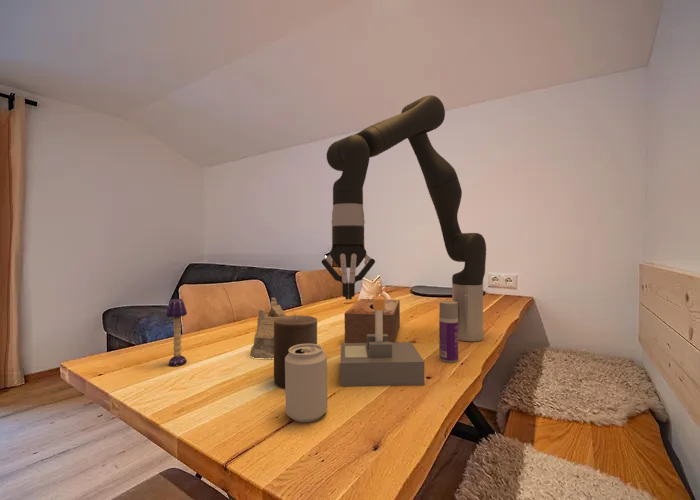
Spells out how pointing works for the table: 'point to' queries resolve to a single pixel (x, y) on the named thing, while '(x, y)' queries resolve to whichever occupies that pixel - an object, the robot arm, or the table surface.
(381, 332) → the breaker lever
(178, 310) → the toy lamp
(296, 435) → the table surface
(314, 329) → the pillar candle
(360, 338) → the tissue box cover
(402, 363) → the box
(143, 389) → the table surface
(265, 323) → the ceramic cottage
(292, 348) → the can
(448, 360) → the container
